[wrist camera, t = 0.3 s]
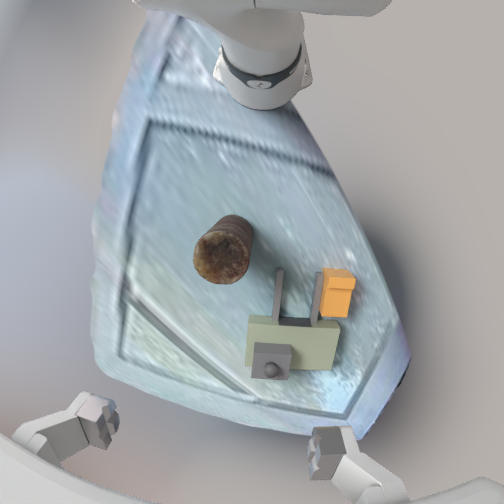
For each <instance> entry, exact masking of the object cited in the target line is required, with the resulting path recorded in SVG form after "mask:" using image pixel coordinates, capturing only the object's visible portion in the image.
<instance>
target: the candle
mask: <svg viewBox="0 0 504 504" xmlns="http://www.w3.org/2000/svg"><path fill="white" fill-rule="evenodd" d="M252 241H253V232H252V228H251V226H250V224H249V223H248V222H247V220H245V219H244V218H242V217H240V216H237V215H227V216H225V217H223V218H222V219H220V220H219V221H218V222H217V223H216V224H215V225H214V226H213V227H212V228H211V229H210V230H209V231H208V232H207V233H205V234H204V235H203V236H202V237H201V238H200V239H199V241H198V242H197V244H196V246H195V250H194V258H193V263H194V266H195V268H196V270H197V271H198V273H199V275H200V276H201V277H203V278H204V279H206V280H207V281H209V282H211V283H215V284H232V283H235V282H237V281H238V280H239V279H241V278H242V277H243V275H244V274H245V273H246V271H247V269H248V266H249V260H250V252H251V247H252Z"/></svg>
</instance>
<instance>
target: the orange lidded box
mask: <svg viewBox="0 0 504 504" xmlns="http://www.w3.org/2000/svg"><path fill="white" fill-rule="evenodd" d="M323 274H324V281H323V287H322V294H321V300H320V306H319V311H320V313H321V316H328V317H347V314H348V309H349V304H350V299H351V293H352V289H354V287H355V281H356V278H355V277H354V276H353V275H352V274H351V273H350V272H349V271H348V270H342V269H329V268H323Z"/></svg>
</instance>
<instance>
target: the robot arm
mask: <svg viewBox="0 0 504 504" xmlns="http://www.w3.org/2000/svg"><path fill="white" fill-rule="evenodd" d="M132 1H133V2H134V3H135V4H136V5H138V6H139V7H141V8H143V9H148V10H157V11H163V12H168V13H172V14H176V15H179V16H182V17H185V18H187V19H190V20H192V21H194V22H196V23H198V24H200V25H202V26H204V27H205V28H207V29H209V30H210V31H212V32H213V33H215V34H216V35H217V36H218V37H219V39H220V41H221V43H222V47H220V48H219V54H220V55H219V58H218V61H217V64H216V66H215V69H214V72H213V77H214V79H215V80H216V81H218V82H219V83H221V84H223V85H224V86H225V87H226V88H227V90H228V92H229V93H230V95H231V96H232V97H233V98H234V99H235V100H236V101H237V102H239V103H240V104H242V105H244V106H246V107H249V108H252V109H258V110H268V109H274V108H277V107H280V106H282V105H284V104H286V103H287V102H289V101H290V100H291V99H292V98H293V97H294V96H295V95H296V93H297V92H298V91H300V90H302V89H304V88H306V87H308V86H310V85H311V84H312V75H311V69H310V64H309V59H308V54H307V50H306V45H305V40H304V36H303V32H304V19H303V16H302V14H301V12H308V13H315V14H322V15H341V16H342V15H343V16H367V17H371V16H374V15H376V14H378V13H379V12H381V11H382V10H384V9H385V8H386V7H387V6H388V5H389V4H390V3H391V1H392V0H132ZM305 74H307V76H305ZM115 409H116V404H115V401H113V400H111V399H107V398H105V397H101V396H98V395H95V394H92V393H89V392H86V391H82V392H81V393H80V394H79V395H78V396H77V398H76V399H75V400H74V401H73V403H72V404H71V405H70V406H69V407H68V409H67V410H66V411H63V410H62V411H59V412H57V413H54V414H51V415H48V416H45V417H42V418H39V419H36V420H32V421H30V422H26V423H23V424H22V425H21V426H20V427H19V428H18V429H17V430H16V432H15V433H14V434H13V435H12V436H11V437H10V438H7V437H6V436H4V435H3V434H1V433H0V504H159V503H155V502H151V501H147V500H144V499H140V498H137V497H133V496H130V495H127V494H124V493H121V492H118V491H115V490H112V489H109V488H106V487H104V486H101V485H99V484H96V483H93V482H91V481H89V480H86V479H84V478H81V477H79V476H77V475H75V474H72V473H70V472H68V471H66V470H64V468H63V466H62V465H61V463H60V462H61V461H63V460H65V459H66V458H68V457H70V456H72V455H73V454H75V453H77V452H79V451H81V450H82V449H84V448H86V447H88V446H89V445H92V446H95V447H98V448H101V449H104V450H107V448H108V446H109V445H110V443H111V441H112V439H111V435H113V434H115V433H116V432H117V430H118V427H119V423H120V420H119V415H118V413H117V412H116V411H115ZM307 457H308V461H309V462H310V463H311V464H310V466H309V473H310V480H331V481H332V482H333V483H334V485H335V486H336V487H337V488H338V489H339V490H340V491H341V492H342V493H343V494H344V495H345V496H346V497H347V498H348V499H349V500H350V501H351V502H352V503H353V504H504V485H502V484H500V483H497V482H495V481H493V480H491V479H487V478H485V477H478V478H476V479H473V480H470V481H468V482H466V483H463V484H461V485H458V486H456V487H453V488H451V489H448V490H445V491H442V492H439V493H436V494H433V495H430V496H427V497H424V498H420V499H417V500H413V501H410V500H409V497H408V495H407V492H406V489H405V487H404V484H403V482H402V480H401V479H400V478H398V477H397V476H395V475H393V474H392V473H391V472H390V471H388V470H387V469H385V468H384V467H382V466H381V465H380V464H378V463H377V462H375V461H374V460H373V459H371V458H370V457H369V456H367V455H366V454H365V453H360V451H359V448H358V444H357V441H356V438H355V435H354V432H353V429H352V427H351V426H350V425H348V426H329V427H314V428H313V431H312V438H311V439H310V440H309V443H308V449H307Z"/></svg>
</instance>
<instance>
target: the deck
mask: <svg viewBox="0 0 504 504" xmlns="http://www.w3.org/2000/svg"><path fill="white" fill-rule="evenodd" d="M283 275H284V271H283V269H277V273H276V283H275V293H274V302H273V311H272V316H260V315H249V321H248V333H247V345H246V358H245V366H251V367H252V375H251V378H259V379H273V380H288V374H289V369H300V370H331V368H332V364H333V360H334V356H335V351H336V347H337V343H338V338H339V334H340V327H339V325H338V323H337V321H336V320H321V319H317V318H318V312H319V306H320V300H321V294H322V287H323V281H324V274H323V273H322V272H316V278H315V285H314V292H313V299H312V305H311V312H310V318H294V317H279V310H280V302H281V293H282V284H283Z"/></svg>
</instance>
